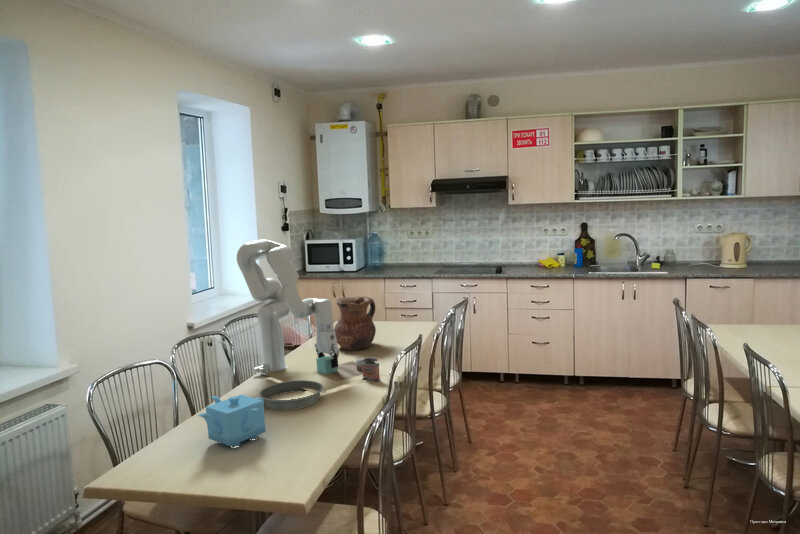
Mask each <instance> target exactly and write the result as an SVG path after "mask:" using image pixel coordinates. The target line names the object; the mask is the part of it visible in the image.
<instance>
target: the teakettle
mask: <svg viewBox="0 0 800 534" xmlns="http://www.w3.org/2000/svg"><path fill="white" fill-rule="evenodd" d="M211 398H212V399H213V401H214V403H213V404H210V405H207V406H205V412H204V413H200V414H197V416H198V417H201V418H203V419H204V420H205V422H206V426H207V434H208V439H209V440H212V441H215V442H217V443H218V442H220V443H221V444H222V445H225V446H228V447H230V448H231V446H232V447H235V446H239V445H240V446H241V443H242V442H245V441H247V440H249V439H251V440H252V439H256V438H257V437H258V435H261V434H263V433H266V431H267V430H266V422H265V421H266V420H265V408H264V400H263V399H262V398H261V397H251V396H247V395H243V394H239V395H235V396H230V397H229V398H227V399H225V400H221V398H220V397H219V396H216V395H212V396H211Z"/></svg>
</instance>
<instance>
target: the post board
mask: <svg viewBox="0 0 800 534" xmlns="http://www.w3.org/2000/svg"><path fill="white" fill-rule="evenodd" d="M362 362H365V361H364V358H357V359H355V361H354V360H351V361H347V362H343V363H340V364H339V363H338V367H337V368H338V371H336V372H333V373H329V374H326V375H325V374H322V373H319V372H317V370H314V371H312V373H313V374H316V375H319V376H322V377H325V378H328V379H330V380H334V381H337V382H341V381H345V380H348V379H351V378H354V377H359V376H361V375H362V376H363V370H362Z"/></svg>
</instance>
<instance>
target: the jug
mask: <svg viewBox="0 0 800 534" xmlns="http://www.w3.org/2000/svg"><path fill="white" fill-rule="evenodd" d="M335 303H336V305H338V308H339V310H340V319H338V321H337V323H336V324H335V325H334V331H335V334H336V339H337V345H338V346H339V347H340V348H342V349H344V350H347V351H358V350H359V351H360V350H364V349H367V348H369V347H371V344H372V343H373V342H374V340H375V337H376V331H377V330H376V329H377V328H376V325H375V323H374V321H373V318H374V315H375V313H376V303H375V300H374V299H373V298H371V297H369V296H355V297H352V296H344V297H343V296H342V297H339V298H338V299H337V300H336V302H335ZM369 305H370V307H369ZM368 307H369V310H368Z"/></svg>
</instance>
